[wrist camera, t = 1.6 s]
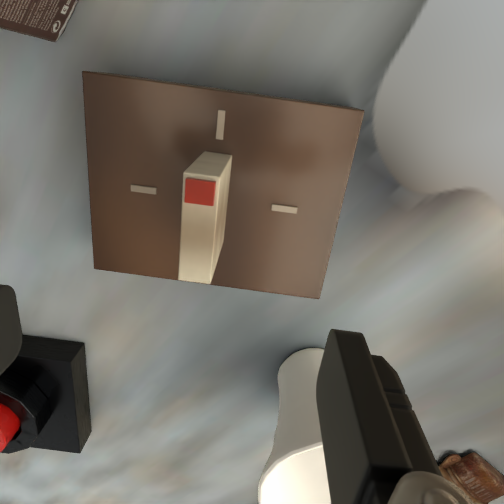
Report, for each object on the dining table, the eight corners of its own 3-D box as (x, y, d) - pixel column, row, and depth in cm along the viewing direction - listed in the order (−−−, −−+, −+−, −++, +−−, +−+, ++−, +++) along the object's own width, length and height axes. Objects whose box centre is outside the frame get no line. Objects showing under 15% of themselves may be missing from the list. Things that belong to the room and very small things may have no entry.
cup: (284, 426, 31) (289, 565, 22) (244, 344, 28) (231, 468, 19) (387, 402, 30) (438, 541, 21) (358, 311, 26) (404, 431, 17)
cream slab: (223, 242, 21) (209, 287, 16) (197, 238, 21) (176, 282, 16) (232, 155, 19) (219, 178, 14) (203, 150, 19) (181, 173, 14)
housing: (-31, 415, 33) (-68, 456, 29) (-56, 324, 29) (-104, 359, 25) (91, 431, 33) (69, 474, 29) (84, 342, 29) (57, 380, 25)
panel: (113, 249, 25) (92, 270, 22) (106, 72, 21) (80, 70, 18) (314, 276, 25) (319, 301, 22) (352, 107, 21) (365, 110, 18)
